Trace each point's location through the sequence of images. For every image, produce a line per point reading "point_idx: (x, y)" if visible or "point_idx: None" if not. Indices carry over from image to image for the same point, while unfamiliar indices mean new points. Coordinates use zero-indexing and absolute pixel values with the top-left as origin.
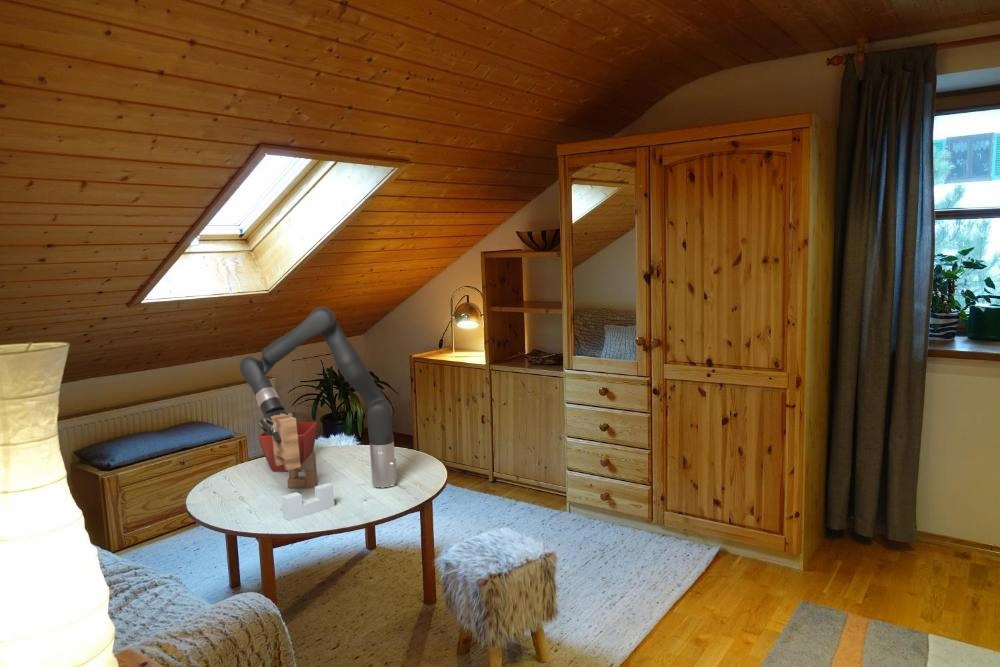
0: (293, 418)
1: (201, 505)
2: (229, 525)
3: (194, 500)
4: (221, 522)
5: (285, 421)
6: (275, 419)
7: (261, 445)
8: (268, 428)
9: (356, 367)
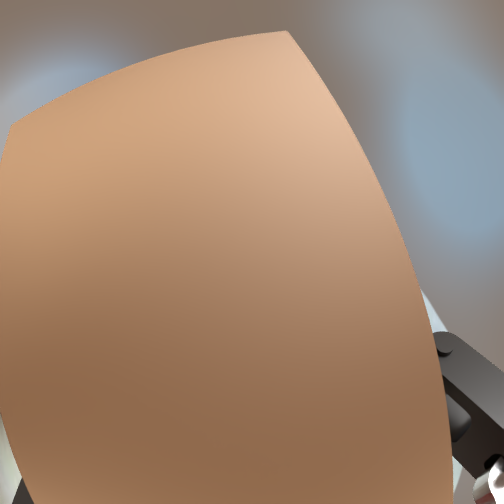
0: (38, 116)
1: (453, 458)
2: (423, 298)
3: (454, 490)
4: (437, 327)
5: (225, 52)
6: (435, 418)
7: None
8: (464, 372)
9: None
